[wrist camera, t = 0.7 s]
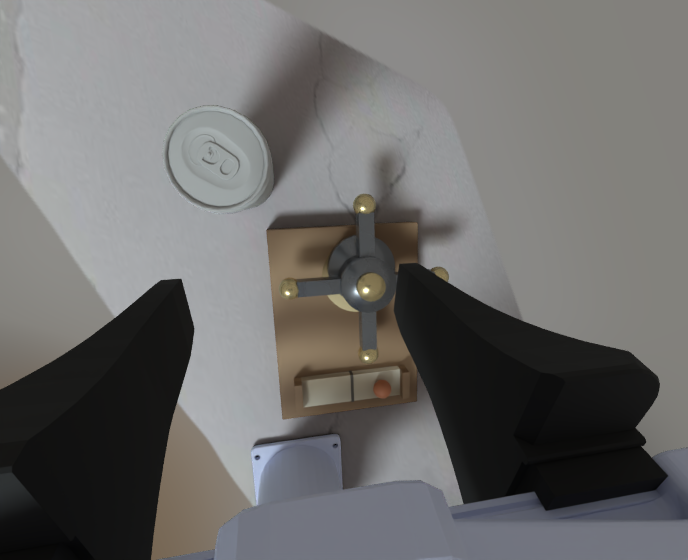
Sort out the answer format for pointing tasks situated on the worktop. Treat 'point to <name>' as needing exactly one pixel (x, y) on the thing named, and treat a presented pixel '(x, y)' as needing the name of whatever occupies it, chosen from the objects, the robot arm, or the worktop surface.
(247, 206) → the beverage can
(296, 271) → the valve wheel board
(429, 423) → the worktop surface
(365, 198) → the capstan
